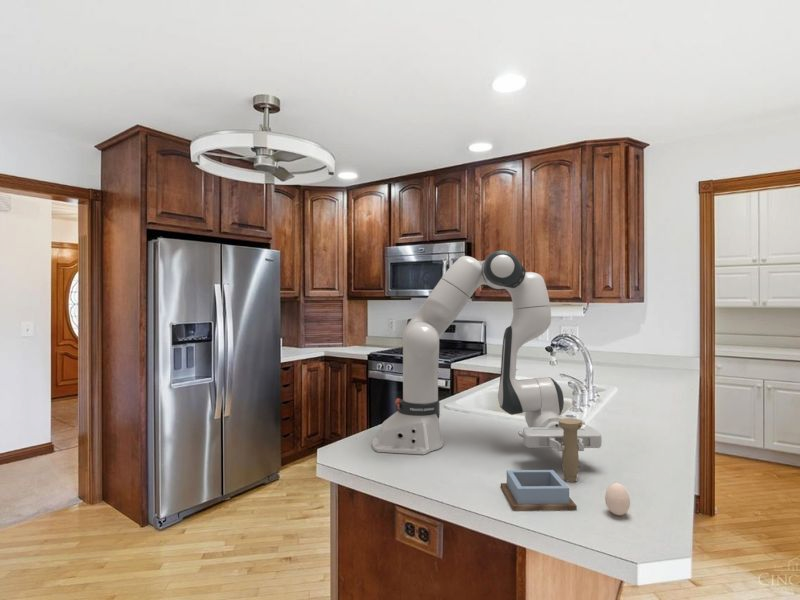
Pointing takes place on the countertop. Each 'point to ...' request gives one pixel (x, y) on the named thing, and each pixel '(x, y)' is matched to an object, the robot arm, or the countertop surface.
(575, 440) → the handle
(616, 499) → the egg
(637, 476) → the countertop surface
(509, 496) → the board
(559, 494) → the square frame
